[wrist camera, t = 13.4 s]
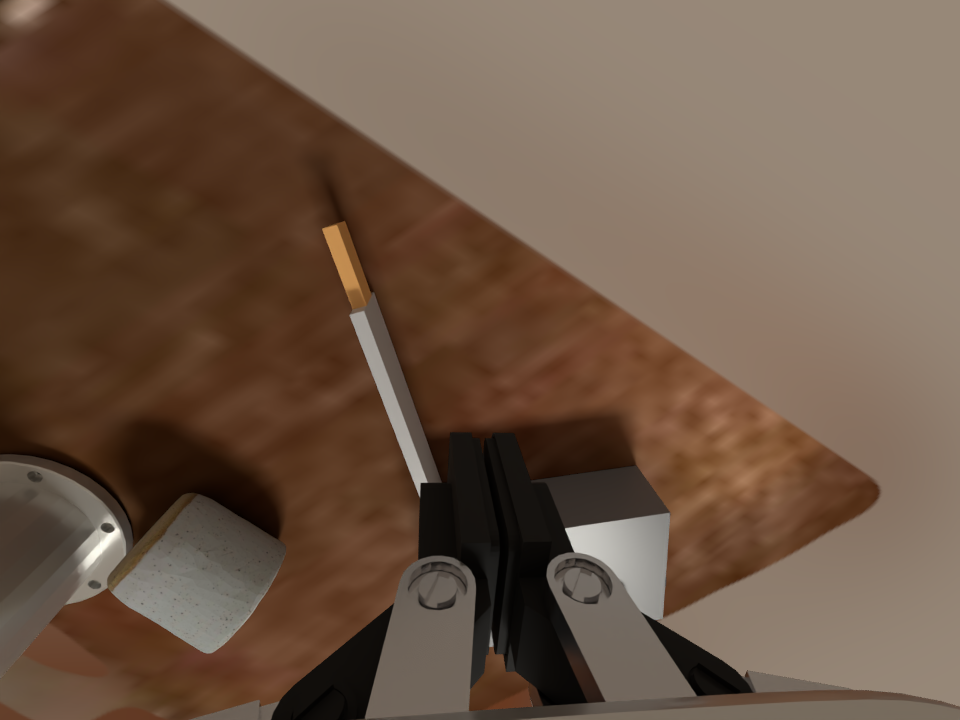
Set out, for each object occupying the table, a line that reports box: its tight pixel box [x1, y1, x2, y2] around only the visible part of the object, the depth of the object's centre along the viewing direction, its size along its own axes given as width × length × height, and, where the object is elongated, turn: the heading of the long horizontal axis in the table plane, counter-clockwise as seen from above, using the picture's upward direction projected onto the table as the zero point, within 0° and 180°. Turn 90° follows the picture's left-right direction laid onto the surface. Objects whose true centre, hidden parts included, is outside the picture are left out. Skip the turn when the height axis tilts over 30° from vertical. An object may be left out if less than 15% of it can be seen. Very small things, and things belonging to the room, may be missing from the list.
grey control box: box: [489, 466, 670, 647], centre depth 34 cm, size 17×10×6 cm, turn 96°
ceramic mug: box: [107, 493, 286, 653], centre depth 31 cm, size 11×8×8 cm
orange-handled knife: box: [322, 221, 442, 496], centre depth 29 cm, size 20×1×4 cm, turn 15°
